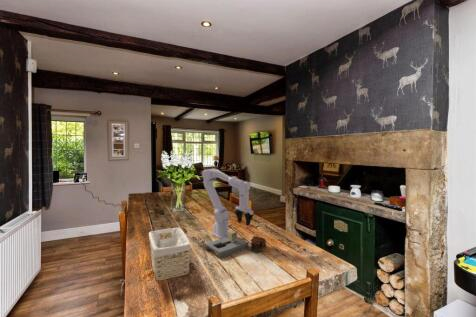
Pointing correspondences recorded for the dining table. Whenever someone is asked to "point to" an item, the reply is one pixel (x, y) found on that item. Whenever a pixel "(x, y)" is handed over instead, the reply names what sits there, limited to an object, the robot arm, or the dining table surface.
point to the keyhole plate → (227, 246)
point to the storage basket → (169, 253)
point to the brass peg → (232, 236)
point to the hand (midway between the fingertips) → (243, 223)
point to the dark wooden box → (255, 245)
